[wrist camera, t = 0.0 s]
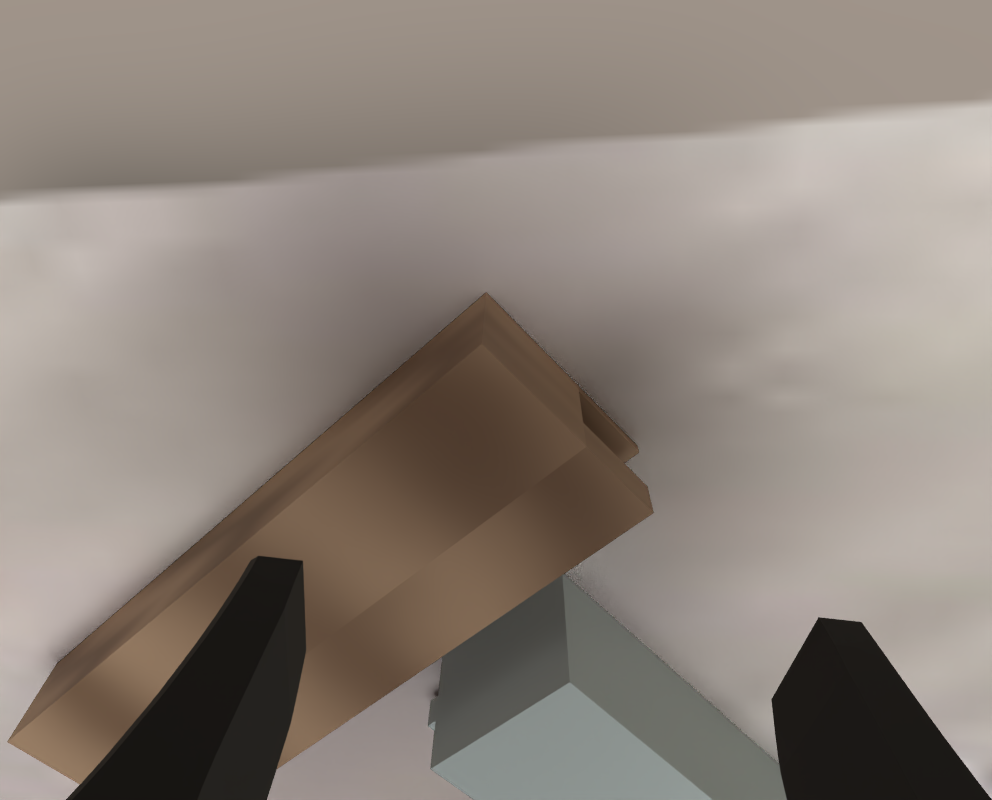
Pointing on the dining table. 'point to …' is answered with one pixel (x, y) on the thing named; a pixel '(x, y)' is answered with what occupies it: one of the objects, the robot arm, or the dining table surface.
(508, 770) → the tongue plank
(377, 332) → the dining table surface
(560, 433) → the grooved board
